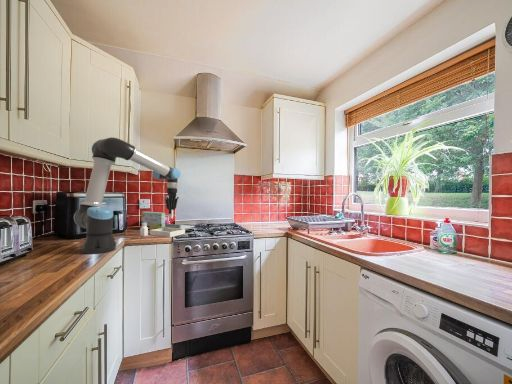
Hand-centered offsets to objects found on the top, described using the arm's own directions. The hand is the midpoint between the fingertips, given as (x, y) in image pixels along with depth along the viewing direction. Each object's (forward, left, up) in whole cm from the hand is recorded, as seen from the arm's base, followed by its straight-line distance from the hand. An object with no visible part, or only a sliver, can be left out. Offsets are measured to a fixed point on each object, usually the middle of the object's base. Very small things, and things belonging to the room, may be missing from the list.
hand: (170, 218), depth 174 cm
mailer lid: (+9, 0, -8) cm, 12 cm away
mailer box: (-3, 0, -12) cm, 13 cm away
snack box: (+8, +27, -13) cm, 31 cm away
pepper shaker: (-16, +10, -13) cm, 23 cm away
